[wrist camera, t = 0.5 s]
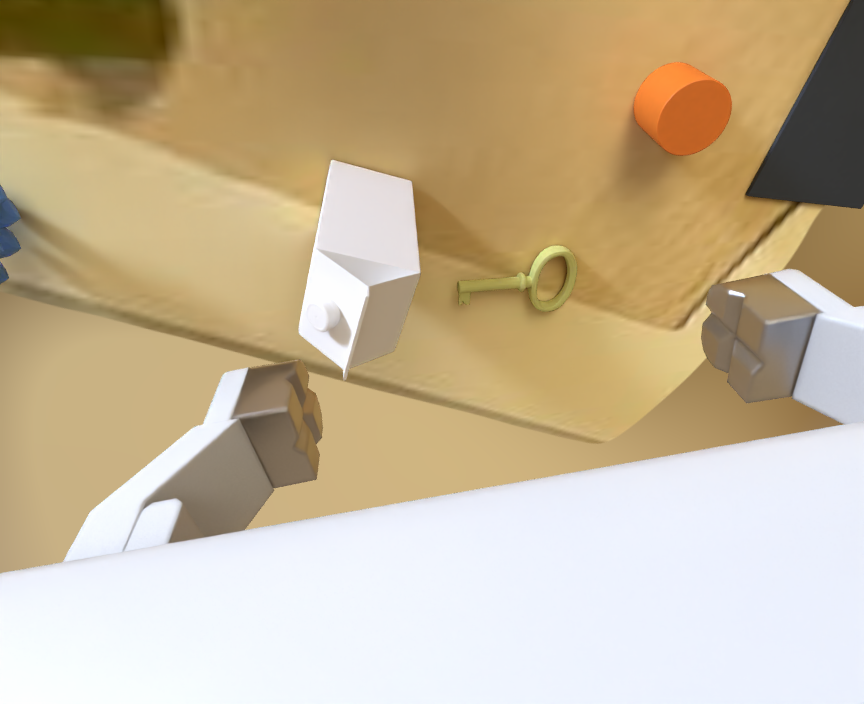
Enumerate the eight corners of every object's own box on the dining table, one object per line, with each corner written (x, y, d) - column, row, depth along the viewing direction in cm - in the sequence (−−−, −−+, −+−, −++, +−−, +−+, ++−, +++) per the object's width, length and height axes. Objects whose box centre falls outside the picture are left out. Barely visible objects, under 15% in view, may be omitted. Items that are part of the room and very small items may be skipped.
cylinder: (649, 57, 42) (675, 74, 38) (714, 67, 43) (746, 84, 39) (623, 129, 45) (645, 151, 41) (683, 137, 46) (710, 159, 42)
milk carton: (412, 179, 47) (425, 308, 32) (392, 249, 51) (395, 389, 37) (331, 157, 45) (306, 283, 31) (317, 231, 49) (290, 371, 35)
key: (449, 275, 53) (451, 287, 52) (572, 238, 52) (578, 249, 50) (467, 328, 58) (470, 340, 56) (580, 296, 56) (586, 308, 55)
